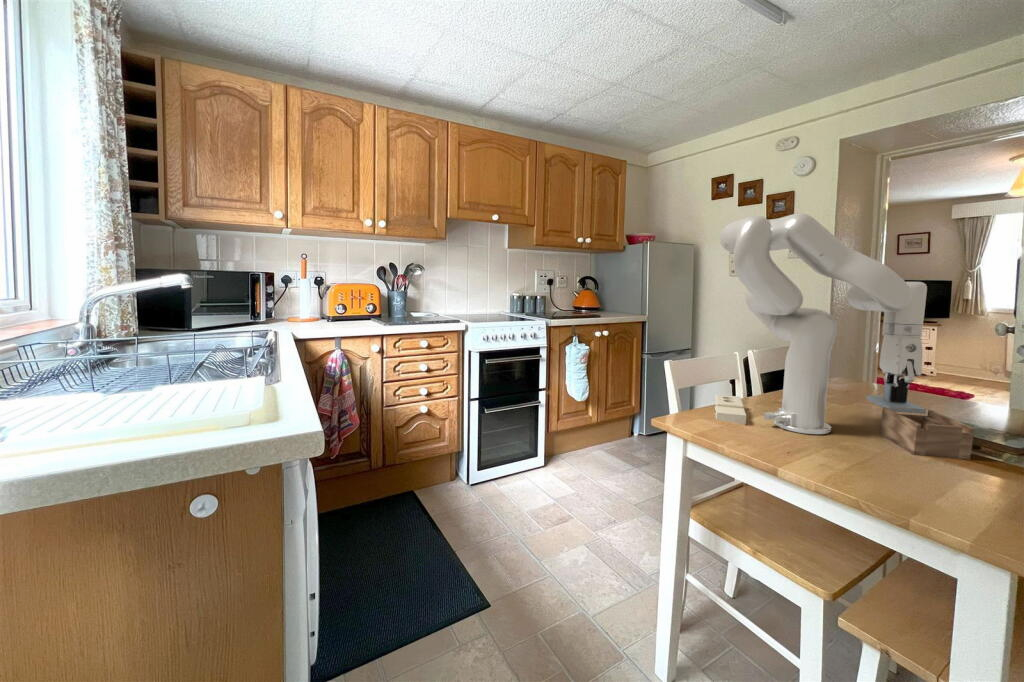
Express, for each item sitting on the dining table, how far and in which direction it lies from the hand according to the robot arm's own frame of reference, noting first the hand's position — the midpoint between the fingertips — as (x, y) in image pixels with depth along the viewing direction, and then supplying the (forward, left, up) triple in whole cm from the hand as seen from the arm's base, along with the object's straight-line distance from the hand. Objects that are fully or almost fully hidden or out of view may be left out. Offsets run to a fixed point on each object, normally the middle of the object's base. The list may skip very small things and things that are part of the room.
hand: (894, 399), depth 111 cm
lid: (0, 0, -2) cm, 2 cm away
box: (-4, -12, -8) cm, 15 cm away
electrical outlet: (-35, +16, -8) cm, 39 cm away
